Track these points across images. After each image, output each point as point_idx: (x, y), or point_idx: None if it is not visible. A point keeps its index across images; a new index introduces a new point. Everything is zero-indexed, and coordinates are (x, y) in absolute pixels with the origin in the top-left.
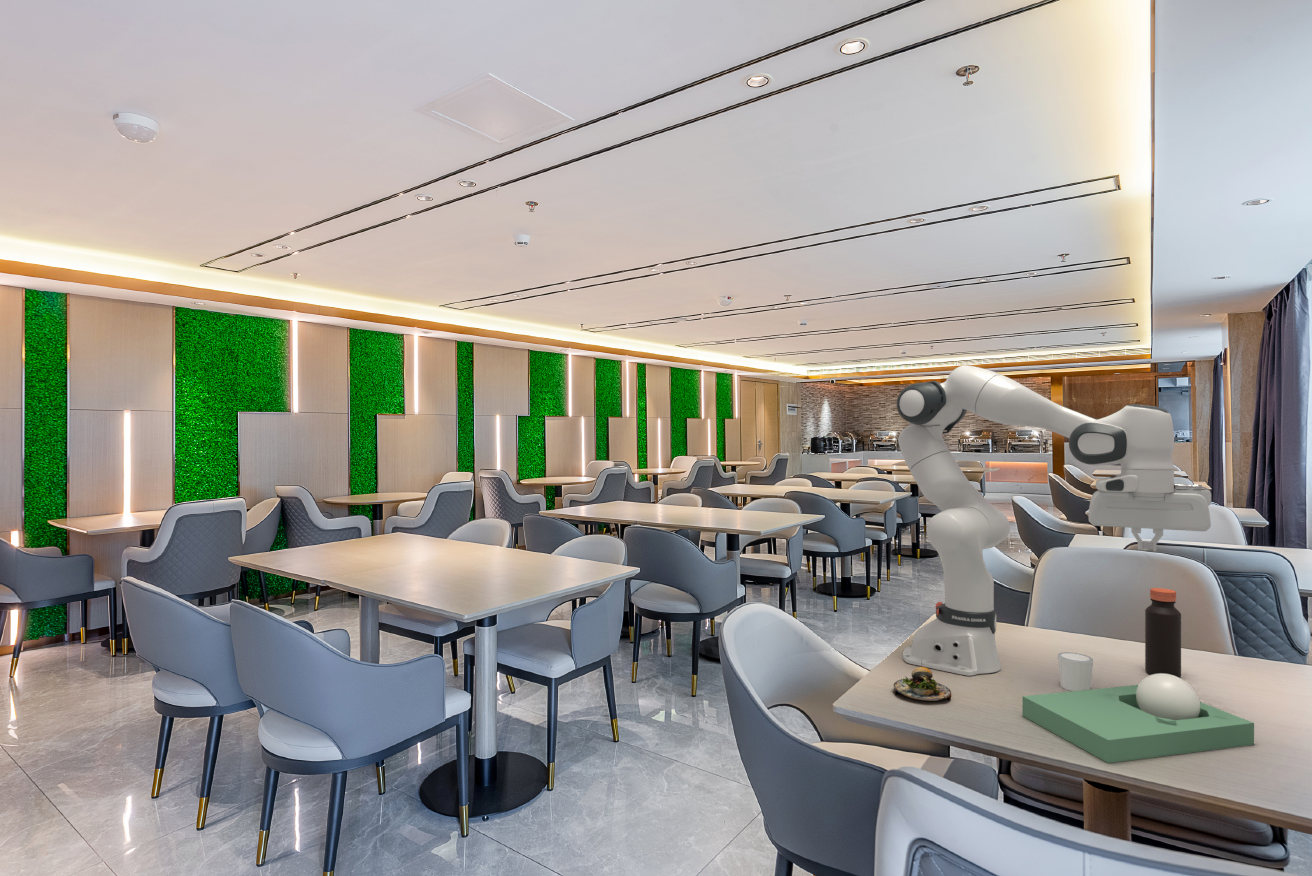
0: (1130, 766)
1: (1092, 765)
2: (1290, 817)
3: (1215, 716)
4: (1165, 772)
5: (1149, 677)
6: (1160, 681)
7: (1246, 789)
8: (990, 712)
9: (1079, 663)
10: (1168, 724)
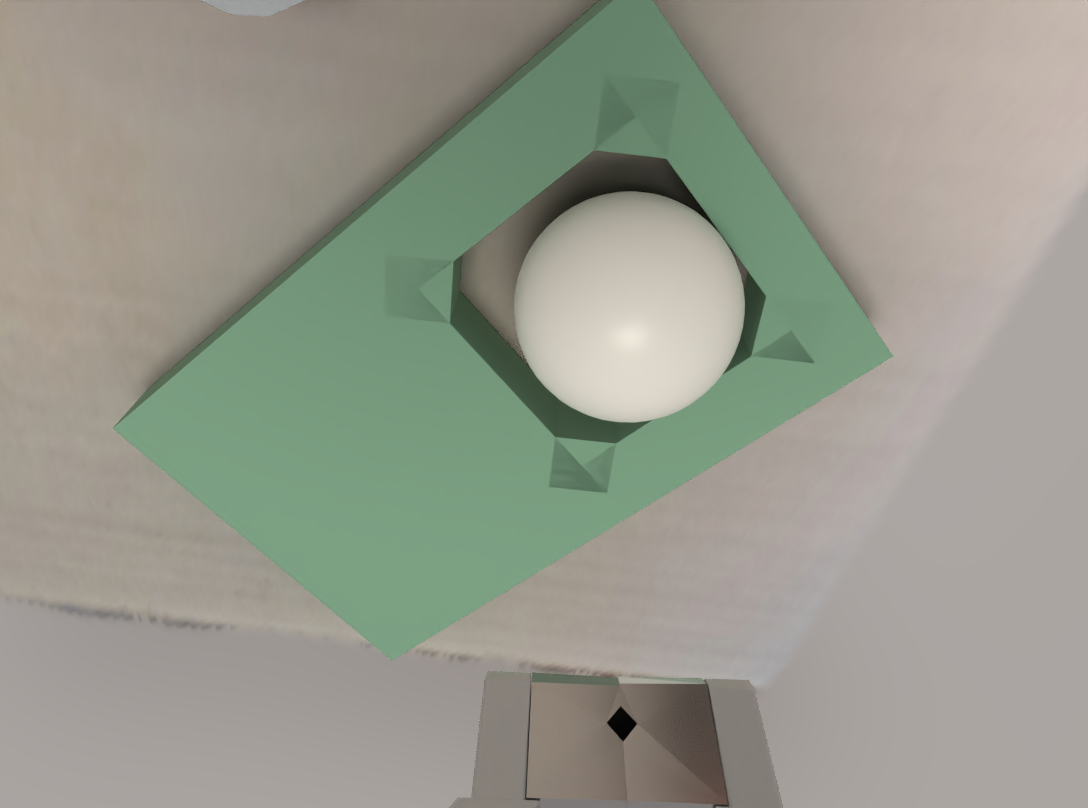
0: None
1: None
2: None
3: (773, 347)
4: (534, 607)
5: (560, 351)
6: (594, 399)
7: (702, 621)
8: (45, 401)
9: (269, 14)
10: (581, 490)
